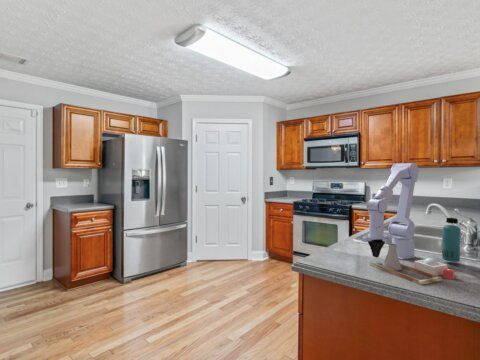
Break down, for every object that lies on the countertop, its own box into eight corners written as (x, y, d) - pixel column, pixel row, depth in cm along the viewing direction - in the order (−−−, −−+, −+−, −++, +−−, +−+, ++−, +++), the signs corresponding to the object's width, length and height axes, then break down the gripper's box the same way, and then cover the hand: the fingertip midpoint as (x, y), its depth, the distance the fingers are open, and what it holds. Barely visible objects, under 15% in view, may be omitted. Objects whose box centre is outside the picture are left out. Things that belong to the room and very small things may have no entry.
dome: (428, 267, 118) (428, 255, 118) (441, 270, 113) (441, 259, 113) (420, 268, 116) (420, 256, 116) (432, 272, 111) (432, 260, 111)
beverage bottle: (457, 262, 127) (459, 217, 126) (462, 266, 121) (463, 219, 120) (440, 260, 130) (441, 216, 129) (443, 264, 124) (444, 218, 123)
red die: (445, 275, 110) (445, 267, 110) (454, 277, 108) (454, 269, 108) (442, 277, 108) (443, 269, 108) (452, 279, 106) (452, 271, 106)
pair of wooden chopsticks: (388, 262, 126) (388, 259, 126) (441, 280, 105) (441, 277, 105) (369, 264, 122) (369, 262, 122) (421, 284, 101) (421, 281, 101)
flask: (378, 265, 122) (379, 242, 121) (394, 265, 122) (395, 242, 122) (388, 271, 114) (389, 246, 114) (406, 271, 115) (406, 246, 115)
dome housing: (427, 267, 120) (427, 259, 120) (447, 273, 112) (447, 264, 112) (414, 269, 117) (414, 261, 117) (433, 276, 109) (433, 267, 109)
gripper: (381, 223, 132) (380, 252, 132) (356, 225, 127) (356, 255, 127) (394, 226, 125) (393, 256, 126) (369, 228, 120) (368, 260, 120)
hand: (375, 256), depth 126 cm, fingers closed
